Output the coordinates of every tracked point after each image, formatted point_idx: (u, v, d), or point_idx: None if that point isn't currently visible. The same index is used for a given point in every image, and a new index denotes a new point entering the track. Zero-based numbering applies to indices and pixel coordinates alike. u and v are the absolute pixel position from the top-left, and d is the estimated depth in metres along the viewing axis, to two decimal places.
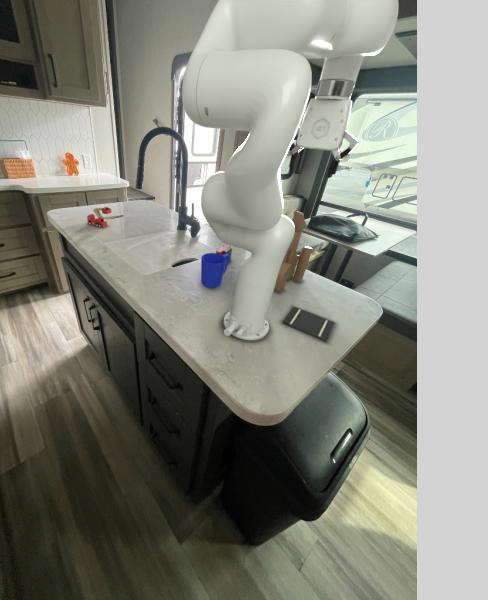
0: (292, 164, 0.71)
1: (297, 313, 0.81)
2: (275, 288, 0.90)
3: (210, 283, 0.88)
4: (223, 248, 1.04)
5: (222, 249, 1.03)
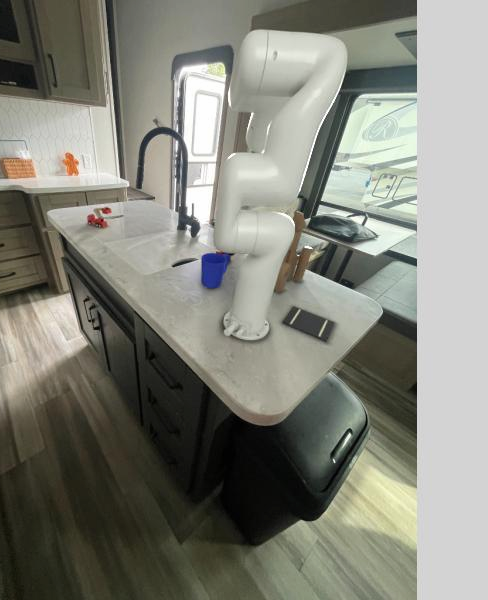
0: None
1: (297, 313, 0.81)
2: (275, 288, 0.90)
3: (210, 283, 0.88)
4: None
5: None
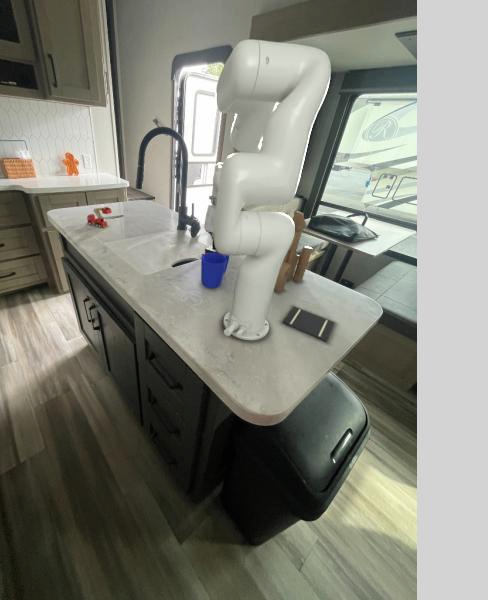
0: (213, 245, 1.04)
1: (297, 313, 0.81)
2: (275, 288, 0.90)
3: (210, 283, 0.88)
4: None
5: None
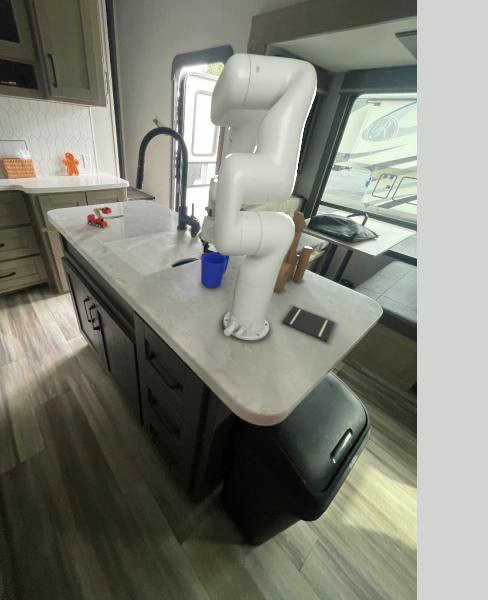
0: None
1: (297, 313, 0.81)
2: (275, 288, 0.90)
3: (210, 283, 0.88)
4: None
5: None
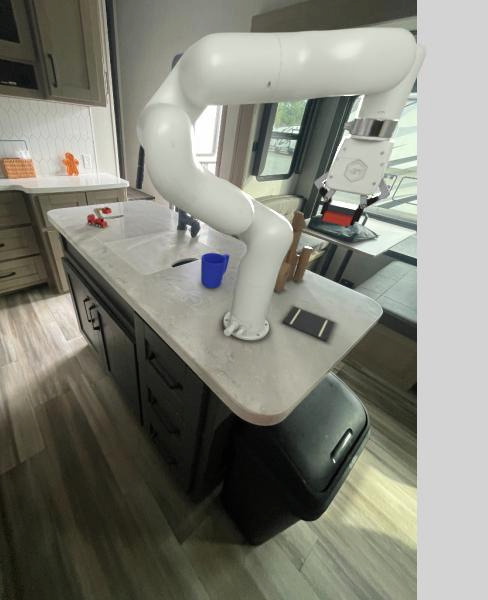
0: None
1: (297, 313, 0.81)
2: (275, 288, 0.90)
3: (210, 283, 0.88)
4: None
5: None
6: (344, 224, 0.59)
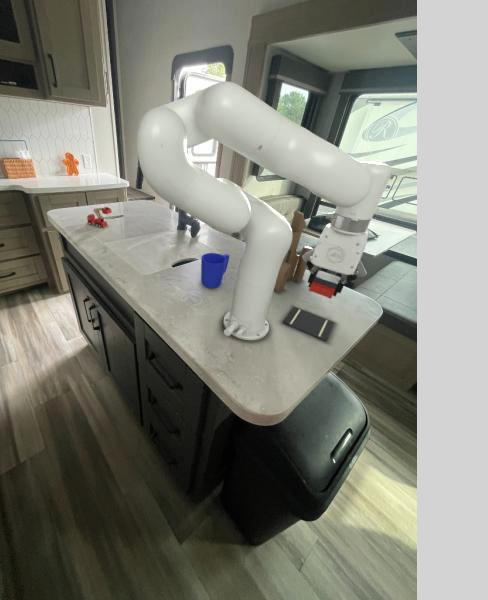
0: (311, 282, 0.70)
1: (297, 313, 0.81)
2: (275, 288, 0.90)
3: (210, 283, 0.88)
4: None
5: None
6: (327, 296, 0.67)
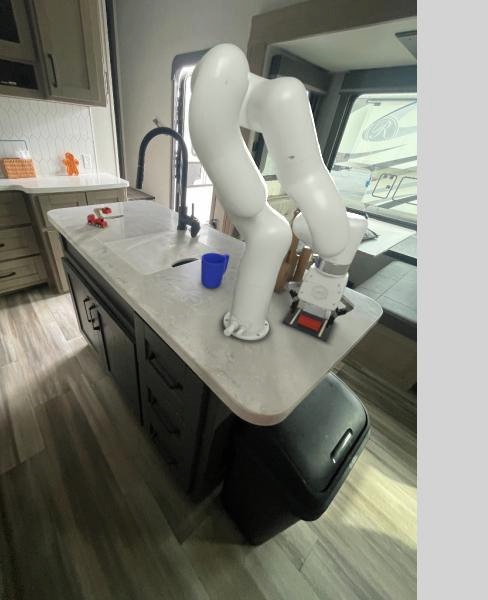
0: (293, 308, 0.77)
1: (297, 313, 0.81)
2: (275, 288, 0.90)
3: (210, 283, 0.88)
4: None
5: None
6: (314, 329, 0.74)
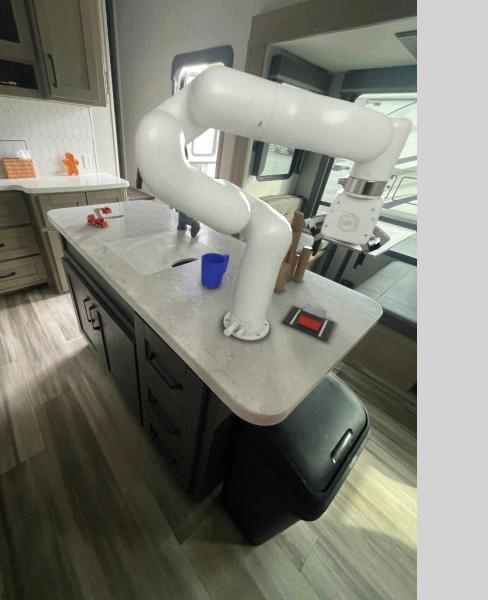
0: (315, 250, 0.66)
1: (297, 313, 0.81)
2: (275, 288, 0.90)
3: (210, 283, 0.88)
4: None
5: None
6: (314, 329, 0.74)
